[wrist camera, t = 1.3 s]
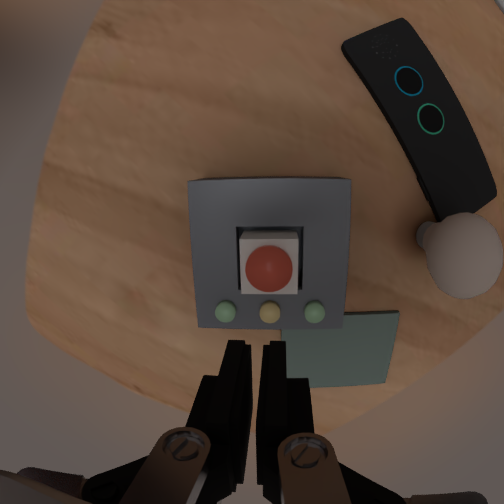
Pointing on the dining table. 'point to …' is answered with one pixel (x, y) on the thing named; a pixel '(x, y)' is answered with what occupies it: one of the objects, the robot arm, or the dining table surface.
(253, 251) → the button
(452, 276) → the light bulb
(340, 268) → the grey button control box
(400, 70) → the smart home device
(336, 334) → the mat
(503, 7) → the candlestick
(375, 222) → the dining table surface
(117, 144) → the dining table surface
